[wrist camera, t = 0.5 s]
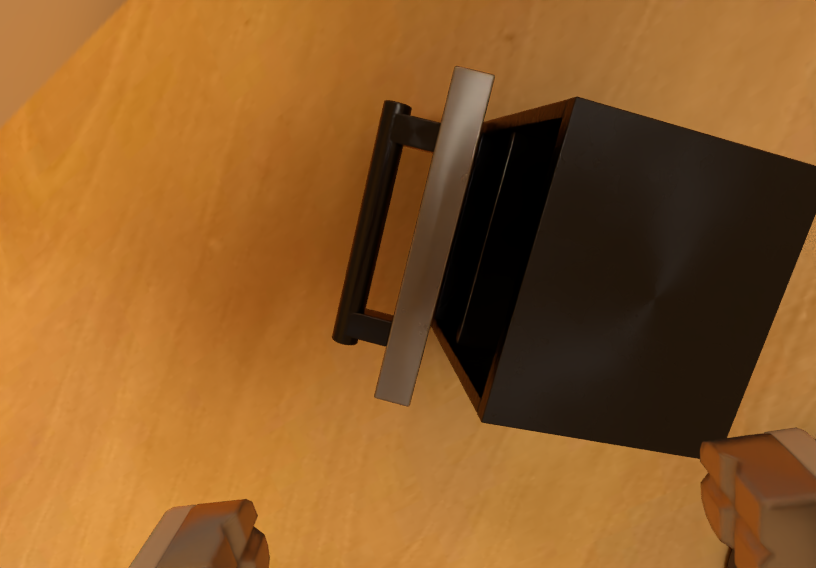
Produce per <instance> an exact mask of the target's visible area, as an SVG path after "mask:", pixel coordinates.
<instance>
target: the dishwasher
mask: <svg viewBox="0 0 816 568" xmlns="http://www.w3.org/2000/svg"><path fill="white" fill-rule="evenodd" d="M815 215H816V166H815V165H811V164H808V163H804V162H801V161H798V160H794V159H791V158H787V157H784V156H780V155H777V154H773V153H770V152H766V151H763V150H760V149H756V148H753V147H749V146H746V145H742V144H739V143H735V142H732V141H729V140H725V139H722V138H718V137H715V136H711V135H708V134H704V133H701V132H697V131H694V130H691V129H687V128H684V127H680V126H677V125H673V124H670V123H666V122H663V121H659V120H656V119H653V118H649V117H646V116H642V115H639V114H635V113H632V112H628V111H625V110H622V109H618V108H615V107H611V106H608V105H604V104H601V103H597V102H594V101H590V100H587V99H584V98H580V97H574V98H570V99H567V100H564V101H560V102H556V103H552V104H549V105H545V106H541V107H537V108H534V109H530V110H526V111H523V112H519V113H515V114H511V115H508V116H504V117H500V118H496V119H493V120H489V121H486V122H483V125H482V129H481V133H480V137H479V141H478V144H477V148H476V152H475V156H474V160H473V164H472V168H471V171H470V175H469V179H468V183H467V187H466V191H465V194H464V198H463V202H462V206H461V210H460V214H459V218H458V221H457V225H456V229H455V233H454V237H453V241H452V245H451V248H450V252H449V256H448V260H447V264H446V268H445V272H444V275H443V279H442V283H441V287H440V291H439V295H438V298H437V302H436V306H435V310H434V314H433V318H432V322H431V325H430V326H431V327H432V329H433V331H434V333H435V335H436V337H437V339H438V341H439V342H440V344H441V346H442V348H443V350H444V352H445V354H446V356H447V358H448V359H449V361H450V363H451V365H452V367H453V369H454V371H455V373H456V374H457V376H458V378H459V380H460V382H461V384H462V386H463V388H464V389H465V391H466V393H467V395H468V397H469V399H470V401H471V403H472V404H473V406H474V408H475V410H476V412H477V415H478V417H479V418H480V420H481V422H482V423H488V424H494V425H500V426H506V427H512V428H518V429H524V430H530V431H536V432H542V433H548V434H554V435H560V436H566V437H572V438H578V439H584V440H590V441H596V442H602V443H608V444H614V445H620V446H626V447H632V448H638V449H644V450H650V451H655V452H661V453H667V454H673V455H679V456H685V457H691V458H697V459H700V448H701V445H702V442H703V441H710V440H717V439H725V438H727V436H728V433H729V431H730V428H731V426H732V423H733V421H734V418H735V416H736V413H737V411H738V408H739V406H740V403H741V401H742V398H743V396H744V393H745V391H746V388H747V386H748V383H749V381H750V378H751V376H752V373H753V371H754V368H755V366H756V363H757V361H758V358H759V356H760V353H761V350H762V348H763V345H764V343H765V340H766V338H767V335H768V333H769V330H770V328H771V325H772V323H773V320H774V318H775V315H776V313H777V310H778V308H779V305H780V303H781V300H782V298H783V295H784V293H785V290H786V288H787V285H788V283H789V280H790V278H791V275H792V273H793V270H794V267H795V265H796V262H797V260H798V257H799V255H800V252H801V250H802V247H803V245H804V242H805V240H806V237H807V235H808V232H809V230H810V227H811V225H812V222H813V220H814V217H815Z"/></svg>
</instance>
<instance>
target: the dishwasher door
mask: <svg viewBox="0 0 816 568" xmlns="http://www.w3.org/2000/svg"><path fill="white" fill-rule="evenodd" d="M494 79H495V75H493V74H489V73H485V72H481V71H476V70H472V69H468V68H464V67H459V66H455V67H454V71H453V75H452V79H451V83H450V87H449V91H448V95H447V99H446V104H445V108H444V112H443V116H442V120H441V123H439V122H435V121H431V120H427V119H422V118H418V117H414V116H410V115H411V110H412V108H411V107H410V106H408V105H406V104H403V103H399V102H395V101H390V100H385V101H384V103H383V108H382V113H381V117H380V122H379V126H378V131H377V135H376V140H375V144H374V149H373V153H372V158H371V162H370V167H369V171H368V176H367V180H366V185H365V190H364V194H363V199H362V203H361V208H360V212H359V217H358V221H357V226H356V230H355V235H354V239H353V244H352V248H351V253H350V257H349V262H348V267H347V271H346V276H345V280H344V285H343V289H342V294H341V298H340V303H339V307H338V312H337V316H336V321H335V325H334V330H333V334H332V339H333V340H334V341H335V342H337V343H340V344H344V345H356V344H357V343H358V339H359V340H362V341H366V342H370V343H374V344H378V345H382V346H386V350H385V354H384V358H383V362H382V366H381V370H380V374H379V378H378V382H377V387H376V391H375V395H374V397H375V398H377V399H381V400H385V401H389V402H392V403H396V404H400V405H404V406H407V407H408V406H410V402H411V399H412V395H413V391H414V387H415V383H416V379H417V376H418V372H419V368H420V364H421V360H422V356H423V352H424V349H425V345H426V341H427V337H428V333H429V329H430V325H431V322H432V318H433V314H434V310H435V306H436V302H437V298H438V295H439V291H440V287H441V283H442V279H443V275H444V272H445V268H446V264H447V260H448V256H449V252H450V248H451V245H452V241H453V237H454V233H455V229H456V225H457V221H458V218H459V214H460V210H461V206H462V202H463V198H464V194H465V191H466V187H467V183H468V179H469V175H470V171H471V168H472V164H473V160H474V156H475V152H476V148H477V144H478V141H479V137H480V133H481V129H482V125H483V121H484V117H485V114H486V110H487V106H488V102H489V98H490V94H491V90H492V87H493V83H494ZM403 146H404V147H408V148H412V149H416V150H420V151H424V152H428V153H432V154H433V157H432V161H431V165H430V169H429V173H428V177H427V181H426V186H425V190H424V194H423V198H422V202H421V206H420V210H419V214H418V218H417V222H416V227H415V231H414V235H413V239H412V243H411V247H410V251H409V255H408V259H407V264H406V268H405V272H404V276H403V280H402V284H401V288H400V292H399V296H398V300H397V305H396V309H395V313H394V316H393V315H390V314H386V313H382V312H378V311H374V310H370V309H366V304H367V300H368V296H369V291H370V287H371V283H372V279H373V274H374V270H375V266H376V261H377V257H378V253H379V248H380V244H381V240H382V235H383V231H384V227H385V222H386V218H387V214H388V210H389V205H390V201H391V197H392V192H393V188H394V184H395V179H396V175H397V171H398V166H399V162H400V158H401V153H402V149H403Z"/></svg>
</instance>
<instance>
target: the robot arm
mask: <svg viewBox="0 0 816 568" xmlns="http://www.w3.org/2000/svg"><path fill="white" fill-rule="evenodd" d="M700 462H701V463H702V465H703V466H704V467H705V469H706V470H707V471H708V474H707V475H706V476H705V478H704V479H703V480H702V482H701V499H702V503H703V507H704V510H705V514H706V517H707V519H708V521H709V523H710V525H711V528H712V529H713V531H714V533H715V534H716V536H717V537H718V539H719V540H720V541H721V542H722V543H724V544H726V545H727V546H729V547H731V548H733V549H734V550H735V565H736V566H737V568H816V440H815V439H814V438H812V437H811V436H810V435H809V434H808V433H807V432H806V431H804V430H801V429H799V428H790V429H783V430H777V431H770V432H765V433H764V434H755V435H747V436H740V437H732V438H725V439H717V440H710V441H703V442H702V445H701V448H700ZM257 517H258V515H257V512H256V510H255V507H254V505H253V503H252V502H251V501H249V500H247V499H242V500H233V501H223V502H213V503H203V504H197V505H187V506H178V507H173V508H171V509H169V510H168V511H166V512H165V514H164V515H163V517H162V518H161V520H160V521H159V523H158V524H157V526H156V527H155V529H154V530H153V532H152V533H151V535H150V536H149V538H148V539H147V541H146V542H145V544H144V545H143V547H142V548H141V550H140V551H139V553H138V554H137V556H136V557H135V559H134V560H133V562H132V563H131V565H130V566H129V568H269V561H270V556H269V549H268V544H267V541H266V538H265V535H264V534H263V533H262V532H260V531H259V530H258V529H257V528H255V527H254V524H255V521H256V519H257Z"/></svg>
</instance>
